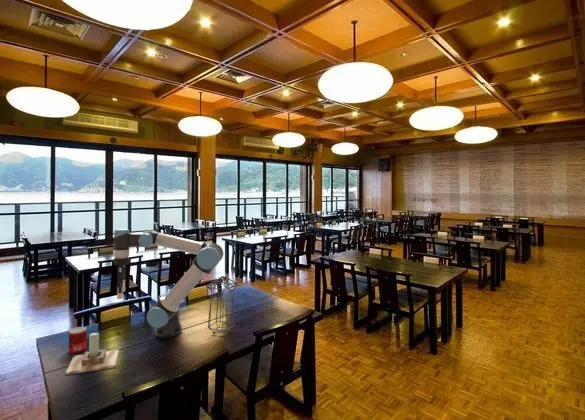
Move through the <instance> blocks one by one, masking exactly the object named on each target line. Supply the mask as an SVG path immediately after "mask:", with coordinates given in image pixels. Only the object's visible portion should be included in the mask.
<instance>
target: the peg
mask: <svg viewBox="0 0 585 420" xmlns="http://www.w3.org/2000/svg"><path fill="white" fill-rule="evenodd" d="M88 337H89V338H88V339H89V341H88V344H89V347H88V348H89V358H91V357H98V356H99V350H100V334H99V333H98V332H93V333H90V334H89V336H88Z"/></svg>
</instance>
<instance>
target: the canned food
mask: <svg viewBox="0 0 585 420" xmlns="http://www.w3.org/2000/svg"><path fill="white" fill-rule="evenodd" d="M87 332H88V330H87V327H86V326H77V327H74V328H73V327H72V328H70V329H69V331H68V352H69V353H70V354H78V353H82V352H85V350H87V347H88V346H87V345H88V344H87V343H88V341H87V339H88V338H87V337H88V333H87Z"/></svg>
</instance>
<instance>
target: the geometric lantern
mask: <svg viewBox="0 0 585 420" xmlns="http://www.w3.org/2000/svg"><path fill="white" fill-rule="evenodd" d="M217 285H218V286H217ZM220 285H222V286H223V287H224V288H220ZM238 286H239V282H236V281H234V280H233V279H230V278H229V277H227V276H225V275H221V276H220V277H218V278H217V279H215V280H213V281H212V282H209V284H207V285H205V287H206V288H207V289H209V290H210V302H209V309H208V310H209V311H208V318H207V319H208V321H207V328H208V329H210V331H211V332H212V334H214V335H215V333H219V334H222V336H223V335H224V336H225V335H227V334H226V333H227V332H229V330H230V331H231V329H232V328H233V327H234V326H235V325H236V323H235V321H236V320H235V318H236V317H235V304H234V303H235V302H234V298H235V289H236V288H237V287H238ZM227 290H228V292H229V293H228V294H227V295H226V294H224V292H225V291H227ZM214 294H216V295H215V296H214ZM222 296H225V297H226V298H225V300H224V299H223V297H222ZM229 296H230V297H231V298H229V299H228V297H229ZM216 297H217V299H215V301H217V302H216V303H217V305H216V312H215V313H216V316H215V322H213V323H212V324H211V317H212V301H214V298H216ZM227 299H228V300H227ZM231 300H232V302H231V303H232V305H231V306H232V307H231V309H232V310H231V311H232V314H231V317H232V322H230V321H229V322H228V305H227V304H228V303H227V302H228V301H231ZM221 301H222V302H221ZM219 302H220V303H219ZM224 302H225V305H224ZM219 304H220V307H219ZM224 306H225V307H224ZM218 308H219V309H220V310H219V320H217V319H218ZM224 308H225V319H226V320H225V321H224V312H222V309H224ZM221 316H222V317H221ZM215 324H216V328H212V326H213V325H215ZM218 324H219V326H218ZM221 324H222V325H221ZM224 324H225V325H226V327H225V326H224ZM228 324H231V325H230V326H229V327H228ZM219 328H220V330H219ZM221 328H222V329H221ZM217 330H218V331H217ZM226 330H227V331H226ZM216 331H217V332H216Z"/></svg>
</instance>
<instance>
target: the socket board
mask: <svg viewBox="0 0 585 420" xmlns="http://www.w3.org/2000/svg"><path fill="white" fill-rule="evenodd" d="M119 353H120V350H119V349H115V350H107V349H106V348H105V349H99V356H98V357H91V358H89V351H84V354H77V355H74V356H73V357H72V359H71V361H70V363H69V365H68V368H67V369H66V371H65V375H73V374H81V373H86V372H92V371H100V370H106V369H113V368H116V366H117V362H118V357H119Z"/></svg>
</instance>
